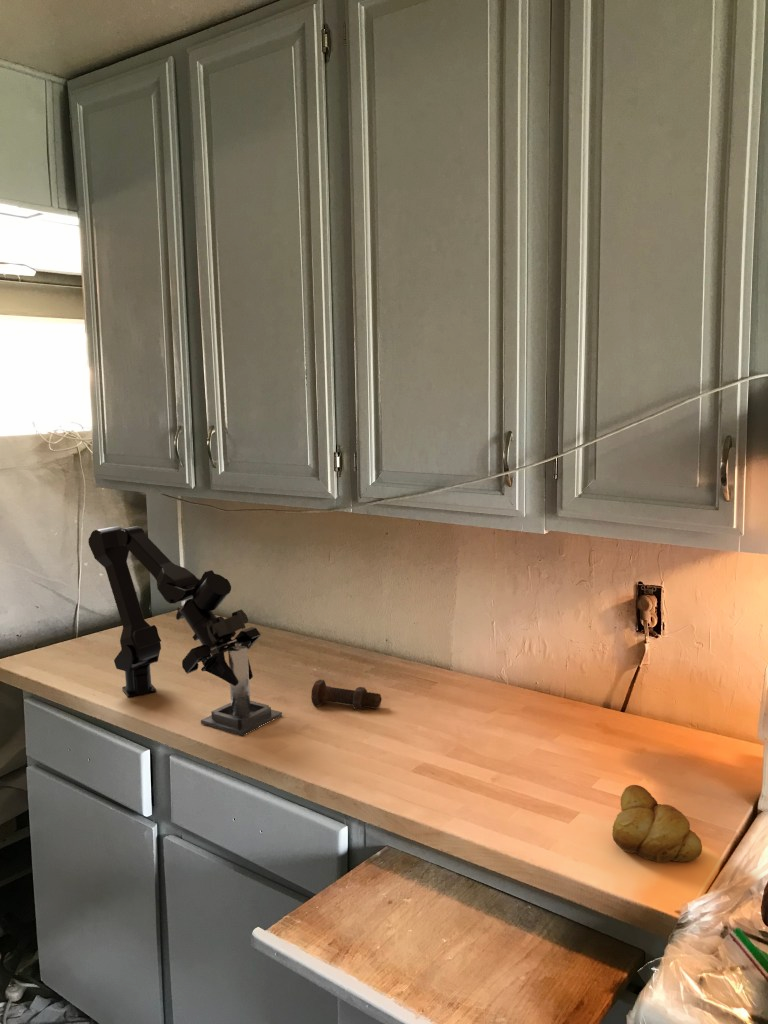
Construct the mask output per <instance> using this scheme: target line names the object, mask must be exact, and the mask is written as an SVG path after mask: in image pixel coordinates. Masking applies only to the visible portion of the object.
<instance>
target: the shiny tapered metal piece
mask: <svg viewBox="0 0 768 1024" xmlns="http://www.w3.org/2000/svg"><path fill="white" fill-rule="evenodd" d="M248 651H249V649H248V648H247V647H246V646H234V647H230V648H229V649H228V651H227V652H228V653H227V654H228V666H229V668H230V669H231V671H232V672H233V674H234V675H235V677H236V679H237V681H238V684H237V685H236V686H234V685H232V684H230V683H229V689H230V703H231V712H232V715H234V716H245V715H248V714H249V713H250V712H251V708H250V701H251V692H250V680H249V667H248V659H249V652H248Z"/></svg>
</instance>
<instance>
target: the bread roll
mask: <svg viewBox="0 0 768 1024" xmlns="http://www.w3.org/2000/svg"><path fill="white" fill-rule="evenodd" d="M620 807H621V811H620V812H618V814H617V815H616V818H615V820H614V823H613V825H612V832H611V833H612V840H613V841H614V843H615V844H616V846H617V847H619V848H620V849H621V850H622V851H625V852H628V853H633V854H634V853H636V854H638V855H639V856H640V857H642V858H645V859H648V860H650V861H654V862H657V863H661V862H670V861H675V862H680V863H682V862H689V861H694V860H695V859H697V858H698V857H700V855H701V854H702V852H703V844H702V841H701V839H700V837H699V836H698V834H696V832H694V831H692V830H691V827H690V826H691V824H690V821H689V819H688V818H687V816H685V814H683V812H681V811H680V810H679V809H677V808H676V807H674V806H673V805H669V804H661V803H658V801H657V800H656V798H655V797H653V796H652V794H651V793H650V792H649V791H648V790H647V789H646V788H645V787H643V786H642V785H638V784H631V785H629V786H627V787H625V788H624V790H623V792H622V794H621V796H620Z"/></svg>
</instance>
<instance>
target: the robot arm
mask: <svg viewBox="0 0 768 1024" xmlns="http://www.w3.org/2000/svg"><path fill="white" fill-rule="evenodd" d="M88 545H89V548H90V551H91V553H92V556H93V558H94V559H95V561H96V562H98V563H99V564H100V565H101V566H102V567H104V570H105V571H106V575H107V578H108V582H109V585H110V588H111V592H112V596H113V598H114V602H115V604H116V608H117V612H118V615H119V617H120V621H121V624H122V631H121V636H120V640H119V643H120V647H121V650H119V653H118V654H117V655H116V657H115V658H114V659H113V663H114V665H115V669H116V670H119V671H123V672H124V676H125V686H122V689H121V690H122V691H123V692H124V693H125V695H126V696H127V697H135V696H140V695H145V694H149V693H154V692H157V688H156V687H155V686H154V685H153V684H152V675H151V664H153V663H157V662H159V658H160V657H159V656H160V652H161V650H162V645H161V642H162V639H161V638H160V636H159V633H158V627H157V626H156V625H155V624H152V625H150V623H148V622H147V621H146V620H145V616H144V614H143V611H142V606H141V604H140V601H139V597H138V594H137V591H136V588H135V584H134V581H133V577H132V575H131V572H130V569H129V565H128V561H127V560H128V558H129V554H130V553H132V555H133V556H134V557H135V558H136V559H137V560H138V561H139V562H140V564H141V565H142V566H143V567H144V568H145V569H146V570H147V571H148V572H149V573H150V574H151V575H152V577H153V578H154V579H155V581H156V587H157V588H156V589H157V590H158V591H159V593H160V594H161V596H162V597H163V599H164V601H166V602H167V603H169V604H170V605H171V604H178V603H180V602H184V601H185V602H184V604H183V605H179V606H178V607H177V608H176V609H177V611H176V612H177V613H176V616H175V619H176V620H181V619H184V620H185V621H186V623H187V625H188V626H189V627H190V629H191V630H192V632H193V633H194V634H193V636H192V639H193V640H194V641H195V642H196V641H199V642H200V643H201V645H198V646H196V647H194V648H191V649H190V650H189V651H188V653H187V654H186V656H184V658H183V659H182V660H181V666H182V669H183V671H184V672H185V673H186V674H187V675H188V674H191V673H193V672H195V671H197V670H198V668H199V663H202V667H201V669H200V670H201V672H207V673H209V674H211V675H214V676H216V677H217V678H220V679H221V680H223V681H225V682H227V683H229V685H230V684H232V685H234V686H236V685H237V684H238V681H237V679H236V677H235V675H234V674H233V672H232V671H231V669H230V668H229V663H227V661H226V659H225V653H227V652H228V649H229V648H230V647H234V646H246V647H247V648H248V650H249V649H251V648H252V646H254V645H255V643H256V642H257V640H258V639H259V638H261V636H262V634H261V633H260V631H259V630H258V629H257V628H256V627H254V626H251V627H249V628H248V627H246V624H247V623H248V622H249V618H248V615H247V614H246V612H245V611H244V610H243V609H242V608H241V609H239V610H236V611H233V612H232V613H231V616H230V617H227V618H224V617H223V616H221V615H220V616H217V615H216V614H215V612H214V611H216V610H217V609H218V608H219V607H220V605H221V604H222V603H223V601H225V599H226V598H227V596H228V595H229V593H231V590H232V585H231V583H230V581H229V580H228V579H227V578H226V577H224V576H223V575H221V574H218V573H215V572H214V570H211V569H210V570H206V571H204V572H203V574H202V575H201V578H197V576H196V575H195V574H194V573H192V572H191V571H190V570H189V569H187V568H185V567H183V566H180V565H177V564H175V563H173V562H172V560H170V559H169V558H168V557H167V556H166V555H165V554H164V553H163V551H162V550H161V549H160V548H159V547H158V546H157V545H156V544H155V543H154V542H153V541H152V540H151V539H150V537H148V536H147V535H146V534H145V531H144V529H143V527H141V526H138V525H137V526H136V525H135V526H129V527H124V528H122V527H121V526H119V525H116V526H110V527H106V528H105V527H104V528H99V529H94V530H92V532H91V534H90V536H89V538H88ZM241 629H242V630H241ZM239 630H240V632H239V633H237V631H239ZM234 637H235V638H234ZM232 638H234V639H232ZM248 667H249V681H250V680H252V678H253V676H254V675H253V671H252V668H251V663H250V660H249V658H248Z"/></svg>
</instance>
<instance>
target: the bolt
mask: <svg viewBox="0 0 768 1024" xmlns="http://www.w3.org/2000/svg"><path fill="white" fill-rule="evenodd" d="M310 693H311V694H310V695H311V696H310V697H311V704H313V706H318V707H319V706H321V705H323V703H336V704H343V705H351V706H352V707H353V709H354V710H358V709H359V710H358V711H360V710H361V709H362V710H364V709H365V708H373V709H378V708H379V707H380V706H381V702H382V699H383V698H382V696H381V694H380V693H375V692H369V691H368V690H367V689H366V687H364V686H358V687H357V688H355V689H346V688H340V687H333V686H328V685H327V684H326V681H325V679H317V680H315V682H314V683H313V686H312V689H311V692H310ZM362 710H361V711H362Z"/></svg>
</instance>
